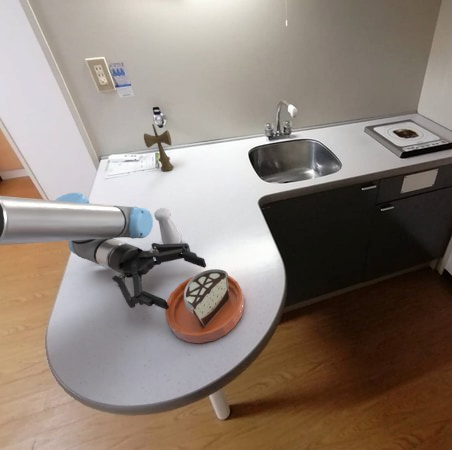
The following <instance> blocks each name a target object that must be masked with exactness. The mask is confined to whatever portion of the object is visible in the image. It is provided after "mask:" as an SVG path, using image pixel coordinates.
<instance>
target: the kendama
mask: <svg viewBox="0 0 452 450" xmlns="http://www.w3.org/2000/svg"><path fill="white" fill-rule="evenodd" d="M151 125H152V129H153V132H154V135H151V134H149V133H145V132H144V134H143V141H144V144H145V146H146V148H148V149H149V148H151V147H152V146H154V145H155V144H157V148H158V153H159V158H158V162H160V164H161V166H160V170H161V171H162V172H168V171H171V170H173V169H174V164H172V163H171V161H170V160H171V157H170V156H168V154H167V153H166V151H165V149H164V147H163V145H162V143H163V144H165V145H168V146H171V147H172V145H173V144H172V136H171V133H170V132H169V130H168V129H166V130H165V131H164V132H162V133H161V134H159V135H158V132H157V128H156V126H155V124H154V123H152V124H151Z"/></svg>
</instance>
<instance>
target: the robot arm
mask: <svg viewBox="0 0 452 450" xmlns="http://www.w3.org/2000/svg"><path fill="white" fill-rule="evenodd" d="M153 224H154V219H153V215H152V213H151V211H150V210H149V209H147V208H144V207H138V206H126V205H125V206H124V205H112V204H99V203H90V200H89V199H88V198H87V196H86V195H85V194H82V193H81V192H70V193H66V194H63V195H61V196H58V197H57V198H56V199H55V200H52V199H43V198H42V199H40V198H30V197H18V196H16V197H15V196H6V195H0V246H13V245H27V244H29V245H30V244H41V243H42V244H44V243H55V242H68V248H69V250H70V251H71V252H72V253H73V254H74V255H76V256H77V257H79V258H81V259H84V260H87V261H89V262H92V263H95V264H97V265H99V266H101V267H105V268H107V269H109V270H112V271H114V272H116V273H119V275H114V276H112V277H111V280H112V281H113V283H114V284H115V286H116V287H118V288H119V289H120V292H121V294H122V296H123V298H124V301H125V302H126V304H127V306H128V307H129V308H130V309H133V308H135V307H136V305H138V304H139V305H140V306H143V305H145V306H146V307H152V306H153V305H155V306H157V307H159V308H161V309H163V310H165V309H166V310H167V309H168V308H169V306H168V304H167V300H166V299H165V298H161V296H157V295H155V294H153V293H150V292H148V291H145V290H143V283H142V282H143V276H146V275H147V274H148V273H149V272H150V270H152V269H153V268H155V266H159V265H161V264H162V263H166V262H167V263H168V262H172V261H177V260H181V259H183V261H184V262H187V263H190V264H193V265H195V266H198V267H201V268H203V269H206V267H207V263H206V260H205V258H204V257H200V256H198V254H197V253H196V252H194V251H191V249H190V244H189V243H188V242H184V243H183V242H182V243H178V244H163V243H157V242H152V243H151V245H150V246H151V247H150V248H149V250H143V249H142V248H140V247H138V246H135V245H133V244H129V243H128V242H126V241H125V242H124V241H122V240H119V238H120V239H121V238H127V239H128V238H129V239H133V240H134V239H144V238H146V237H148V236H149V235H150V233H152V229H153ZM126 278H127V279H130V278H132V283H133V284H132V285H133V286H132V287H133V295H131V293H130V290H129V289H128V287H127V285H126V282H127V280H126Z"/></svg>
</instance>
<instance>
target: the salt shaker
mask: <svg viewBox="0 0 452 450" xmlns="http://www.w3.org/2000/svg"><path fill="white" fill-rule="evenodd" d="M153 217H154V218H155V220H156V221H158V226H159V231H160V239H161V243H162V244H178V243H181V242H182V239H183V238H182V234H181V232H180V231H179V229H178V228H177V227H176V225H175V223H174V222H173V220H172V219H171V217H172V215H171V211H170V210H169V209H168V208H166V207H160V208H157V209H156V210H155V211H154V213H153Z"/></svg>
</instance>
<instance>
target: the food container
mask: <svg viewBox="0 0 452 450" xmlns="http://www.w3.org/2000/svg"><path fill="white" fill-rule="evenodd" d="M227 276H229V273H228V271H226V270H223V269H217V268H214V269H213V268H212V269H206V270H203V271H201V272H199V273H197V274H196V275H194V276H192V277H193V278H192V279H191V280H190V281H189V282H188V284H187V286H186V288H185V291H184V303H185V306H186V308H187V309H188V310H189V311H190V312H191V313H194V315H195V316H196V318H197V319H198V321H199V323H200V324H201V325H202V326H203V327H204V328H205V327H206V326H207V325H208V324H209V323H210V322H211V321H212V319H213V318H214V317H215V316H216V315H217V314H218V313H219V311H220V310H221V309H222V308H223V307H224V306H225V304H226V303H227V302H228V301H229V300H230V296H229V289H228V282H227Z"/></svg>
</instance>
